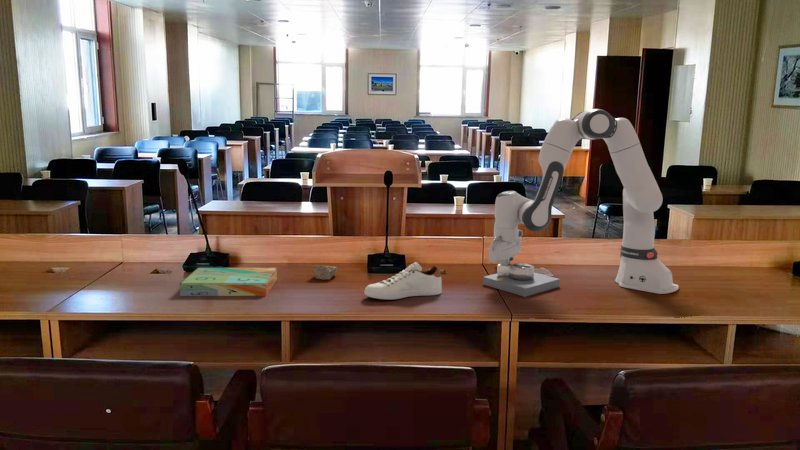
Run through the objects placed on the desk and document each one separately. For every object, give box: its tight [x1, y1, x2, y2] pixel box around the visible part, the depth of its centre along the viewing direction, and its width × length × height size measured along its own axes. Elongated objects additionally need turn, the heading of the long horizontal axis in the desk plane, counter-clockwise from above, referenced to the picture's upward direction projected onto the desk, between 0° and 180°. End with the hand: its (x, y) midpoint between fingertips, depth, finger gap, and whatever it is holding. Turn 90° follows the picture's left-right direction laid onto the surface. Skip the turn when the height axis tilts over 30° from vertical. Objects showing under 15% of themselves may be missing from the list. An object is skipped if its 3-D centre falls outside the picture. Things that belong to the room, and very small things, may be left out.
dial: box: [496, 262, 535, 280], centre depth 235 cm, size 14×9×4 cm, turn 67°
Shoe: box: [363, 261, 443, 301], centre depth 221 cm, size 10×29×12 cm, turn 113°
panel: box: [482, 272, 561, 298], centre depth 235 cm, size 20×20×4 cm
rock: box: [312, 264, 339, 281], centre depth 244 cm, size 10×8×8 cm
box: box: [179, 267, 278, 297], centre depth 231 cm, size 22×5×30 cm
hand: (504, 269), depth 239 cm, fingers closed
